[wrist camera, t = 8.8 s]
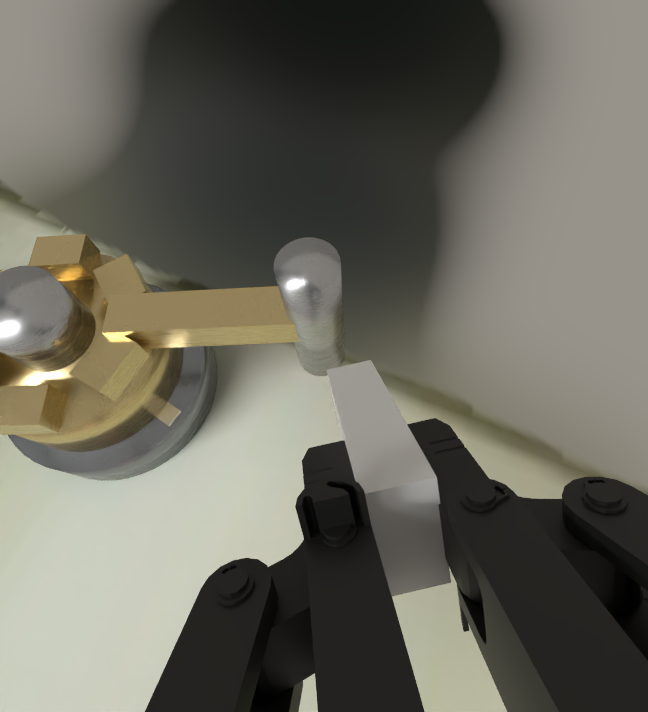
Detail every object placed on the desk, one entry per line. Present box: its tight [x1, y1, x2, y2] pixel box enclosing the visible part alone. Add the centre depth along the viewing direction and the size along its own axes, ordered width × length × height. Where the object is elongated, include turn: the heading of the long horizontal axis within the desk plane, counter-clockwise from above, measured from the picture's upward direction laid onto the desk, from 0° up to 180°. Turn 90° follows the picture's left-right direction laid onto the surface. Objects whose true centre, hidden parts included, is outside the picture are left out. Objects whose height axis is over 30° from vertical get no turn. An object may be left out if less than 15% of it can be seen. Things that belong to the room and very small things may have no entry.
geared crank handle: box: [0, 234, 345, 452], centre depth 21 cm, size 19×10×9 cm, turn 91°
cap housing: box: [8, 284, 217, 480], centre depth 27 cm, size 12×12×3 cm
